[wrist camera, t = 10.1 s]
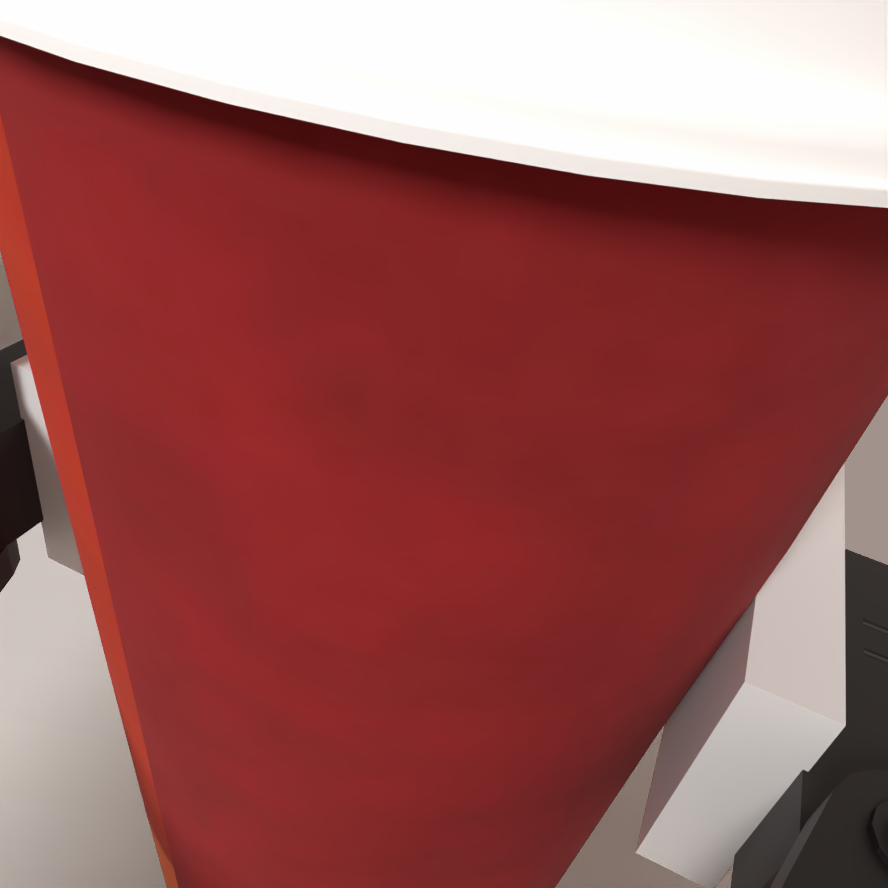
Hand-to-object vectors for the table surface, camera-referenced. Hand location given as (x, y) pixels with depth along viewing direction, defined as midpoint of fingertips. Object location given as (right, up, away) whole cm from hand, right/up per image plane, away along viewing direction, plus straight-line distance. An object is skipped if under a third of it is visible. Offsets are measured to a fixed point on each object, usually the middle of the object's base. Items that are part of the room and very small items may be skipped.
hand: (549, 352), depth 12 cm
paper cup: (-3, -9, +1) cm, 9 cm away
